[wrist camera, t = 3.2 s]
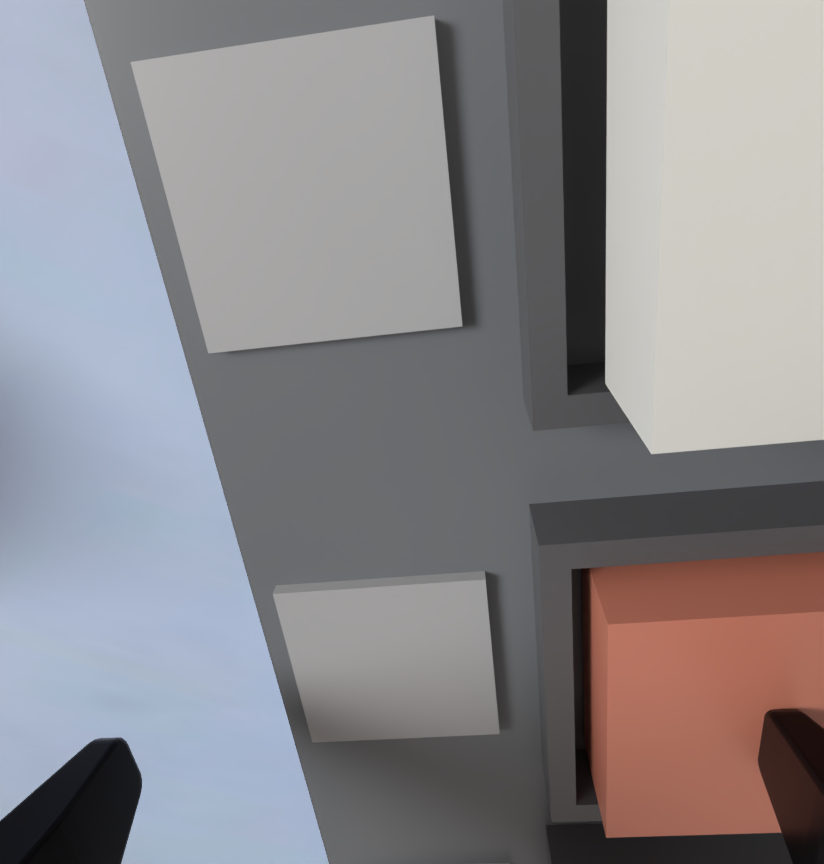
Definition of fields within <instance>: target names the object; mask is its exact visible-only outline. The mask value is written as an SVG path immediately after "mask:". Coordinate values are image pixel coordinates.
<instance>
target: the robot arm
mask: <svg viewBox="0 0 824 864" xmlns="http://www.w3.org/2000/svg"><path fill="white" fill-rule="evenodd" d="M758 766H759V770H760V773H761V776H762V779H763V781H764V784H765V787H766V790H767V793H768V796H769V798H770V801H771V804H772V807H773V810H774V812H775V815H776V818H777V821H778V824H779V826H780V829H781V832H782V835H783V838H784V841H785V843H786V846H787V849H788V852H789V855H790V857H791V860H792V863H793V864H824V728H823V727H822V726H820V725H819V724H818V723H817V722H815V721H814V720H813V719H812V718H810V717H809V716H808V715H807V714H805V713H804V712H802V711H800V710H797V709H777V710H769V711H767V712H766V714H765V716H764V722H763V728H762V735H761V741H760V748H759V754H758ZM141 789H142V778H141V773H140V771H139V768H138V766H137V764H136V762H135V759H134V757H133V755H132V753H131V750H130V748H129V746H128V744H127V742H126V741H125V740H124V739H122V738H100V739H96V740H93V741H92V742H90V743H89V744H87V745H86V746H85V747H84V748H83V749H82V750H81V751H79V752H78V753H77V754H76V755H75V756H74V757H73V758H71V759H70V760H69V761H68V762H67V763H66V764H65V765H63V766H62V767H61V768H60V769H59V770H58V771H57V772H55V773H54V774H53V775H52V776H51V777H50V778H49V779H47V780H46V781H45V782H44V783H43V784H42V785H41V786H39V787H38V788H37V789H36V790H35V791H34V792H33V793H31V794H30V795H29V796H28V797H27V798H26V799H25V800H24V801H22V802H21V803H20V804H19V805H18V806H17V807H16V808H14V809H13V810H12V811H11V812H10V813H9V814H8V815H6V816H5V817H4V818H3V819H2V820H1V821H0V864H121V862H122V858H123V855H124V851H125V848H126V844H127V840H128V837H129V833H130V830H131V826H132V823H133V819H134V816H135V812H136V809H137V805H138V801H139V798H140V794H141Z"/></svg>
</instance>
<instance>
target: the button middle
mask: <svg viewBox="0 0 824 864" xmlns="http://www.w3.org/2000/svg"><path fill="white" fill-rule="evenodd" d="M582 610H583V690H584V744H585V748H586V753H587V757H588V761H589V766H590V770H591V774H592V779H593V783H594V787H595V792H596V796H597V800H598V805H599V809H600V813H601V818H602V822H603V826H604V831H605V835H606V838H615V837H649V836H683V835H717V834H752V833H782V832H781V829H780V826H779V824H778V821H777V818H776V815H775V812H774V810H773V807H772V804H771V801H770V798H769V796H768V793H767V790H766V787H765V784H764V781H763V779H762V776H761V773H760V770H759V766H758V754H759V748H760V741H761V735H762V728H763V722H764V716H765V714H766V712H767V711H769V710H777V709H797V710H800V711H802V712H804V713H805V714H807V715H808V716H809V717H810V718H812V719H813V720H814V721H815V722H817V723H818V724H819V725H820V726H822V727H823V728H824V552H814V553H799V554H785V555H770V556H756V557H741V558H727V559H712V560H698V561H683V562H669V563H654V564H640V565H625V566H611V567H596V568H582Z"/></svg>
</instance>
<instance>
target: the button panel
mask: <svg viewBox="0 0 824 864" xmlns="http://www.w3.org/2000/svg"><path fill="white" fill-rule="evenodd" d="M84 2H85V6H86V9H87V13H88V16H89V20H90V23H91V27H92V30H93V34H94V37H95V41H96V44H97V48H98V51H99V55H100V58H101V62H102V66H103V69H104V73H105V76H106V80H107V83H108V87H109V90H110V94H111V97H112V101H113V104H114V108H115V111H116V115H117V118H118V122H119V125H120V129H121V132H122V136H123V139H124V143H125V146H126V150H127V154H128V157H129V161H130V164H131V168H132V171H133V175H134V178H135V182H136V185H137V189H138V192H139V196H140V199H141V203H142V206H143V210H144V213H145V217H146V220H147V224H148V227H149V231H150V234H151V238H152V242H153V245H154V249H155V252H156V256H157V259H158V263H159V266H160V270H161V273H162V277H163V280H164V284H165V287H166V291H167V294H168V298H169V301H170V305H171V308H172V312H173V315H174V319H175V322H176V326H177V330H178V333H179V337H180V340H181V344H182V347H183V351H184V354H185V358H186V361H187V365H188V368H189V372H190V375H191V379H192V382H193V386H194V389H195V393H196V396H197V400H198V403H199V407H200V410H201V414H202V418H203V421H204V425H205V428H206V432H207V435H208V439H209V442H210V446H211V449H212V453H213V456H214V460H215V463H216V467H217V470H218V474H219V477H220V481H221V484H222V488H223V491H224V495H225V498H226V502H227V506H228V509H229V513H230V516H231V520H232V523H233V527H234V530H235V534H236V537H237V541H238V544H239V548H240V551H241V555H242V558H243V562H244V565H245V569H246V572H247V576H248V579H249V583H250V586H251V590H252V594H253V597H254V601H255V604H256V608H257V611H258V615H259V618H260V622H261V625H262V629H263V632H264V636H265V639H266V643H267V646H268V650H269V653H270V657H271V660H272V664H273V667H274V671H275V674H276V678H277V682H278V685H279V689H280V692H281V696H282V699H283V703H284V706H285V710H286V713H287V717H288V720H289V724H290V727H291V731H292V734H293V738H294V741H295V745H296V748H297V752H298V755H299V759H300V762H301V766H302V770H303V773H304V777H305V780H306V784H307V787H308V791H309V794H310V798H311V801H312V805H313V808H314V812H315V815H316V819H317V822H318V826H319V829H320V833H321V836H322V840H323V843H324V847H325V850H326V854H327V858H328V861H329V864H793V863H792V860H791V857H790V855H789V852H788V849H787V846H786V843H785V841H784V838H783V835H782V833H752V834H717V835H683V836H649V837H615V838H606V835H605V831H604V826H603V822H602V818H601V813H600V809H599V805H598V800H597V796H596V792H595V787H594V783H593V779H592V774H591V770H590V766H589V761H588V757H587V753H586V748H585V744H584V690H583V610H582V568H596V567H611V566H625V565H640V564H654V563H669V562H683V561H698V560H712V559H727V558H741V557H756V556H770V555H785V554H799V553H814V552H824V440H814V441H802V442H790V443H778V444H767V445H755V446H743V447H731V448H719V449H708V450H696V451H684V452H672V453H661V454H651V453H650V451H649V450H648V448H647V447H646V445H645V444H644V442H643V441H642V439H641V438H640V436H639V435H638V433H637V432H636V430H635V428H634V427H633V425H632V424H631V422H630V421H629V419H628V418H627V416H626V415H625V413H624V412H623V410H622V409H621V407H620V406H619V404H618V403H617V401H616V399H615V398H614V396H613V395H612V393H611V392H610V390H609V389H608V387H607V386H606V384H605V332H606V145H607V0H84Z"/></svg>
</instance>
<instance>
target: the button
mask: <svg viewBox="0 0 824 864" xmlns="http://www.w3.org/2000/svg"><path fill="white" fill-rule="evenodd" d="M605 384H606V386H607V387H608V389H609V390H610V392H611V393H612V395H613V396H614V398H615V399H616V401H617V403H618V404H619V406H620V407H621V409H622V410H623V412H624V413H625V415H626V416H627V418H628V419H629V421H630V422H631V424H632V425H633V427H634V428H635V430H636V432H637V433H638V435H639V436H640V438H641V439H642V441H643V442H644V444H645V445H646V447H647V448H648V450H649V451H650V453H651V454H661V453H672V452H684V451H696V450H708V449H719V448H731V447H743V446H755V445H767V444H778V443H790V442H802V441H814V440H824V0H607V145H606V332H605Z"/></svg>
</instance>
